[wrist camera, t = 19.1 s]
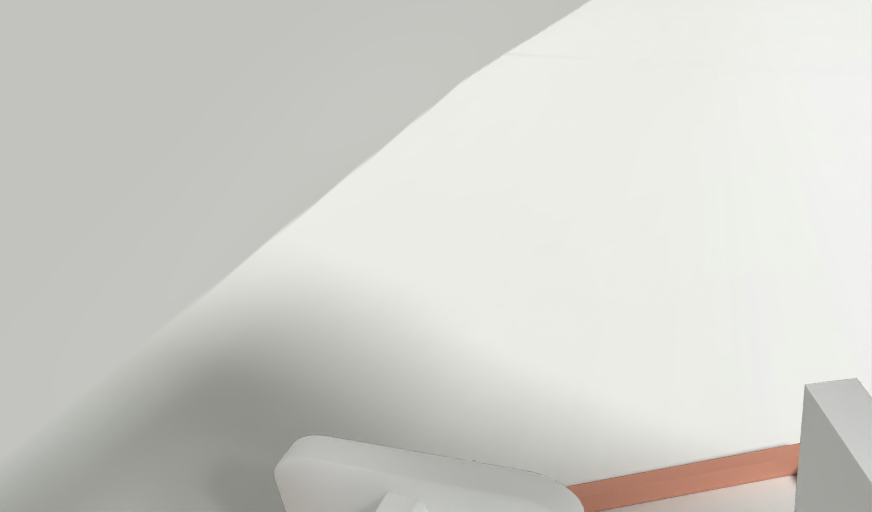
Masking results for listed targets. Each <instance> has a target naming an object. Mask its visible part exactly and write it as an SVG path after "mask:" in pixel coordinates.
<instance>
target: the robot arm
mask: <svg viewBox="0 0 872 512" xmlns="http://www.w3.org/2000/svg"><path fill="white" fill-rule="evenodd" d="M794 512H872V397H871V396H870V395H869V393H868V392H867V391H866V390H865V388H864V387H863V386H862V384H861V383H860V382H859V381H858V379H857V378H852V379H844V380H836V381H828V382H821V383H813V384H805V389H804V401H803V413H802V425H801V438H800V450H799V462H798V474H797V486H796V498H795V511H794Z"/></svg>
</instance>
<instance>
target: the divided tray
mask: <svg viewBox="0 0 872 512" xmlns="http://www.w3.org/2000/svg"><path fill="white" fill-rule="evenodd" d="M799 450H800V443H798V444H793V445H787V446H782V447H777V448H771V449H766V450H760V451H755V452H750V453H744V454H739V455H734V456H728V457H723V458H718V459H712V460H707V461H702V462H696V463H691V464H685V465H680V466H675V467H669V468H664V469H659V470H653V471H648V472H643V473H637V474H632V475H626V476H621V477H616V478H610V479H605V480H600V481H594V482H589V483H584V484H578V485H573V486H567V487H566V488H568V489H569V490H570V491H572V492H573V493H574V494H575V495H576V496H577V498H578V499H579V500H580V502H581V504H582V506H583V508H584V512H596V511H602V510H607V509H612V508H618V507H623V506H628V505H634V504H639V503H644V502H650V501H655V500H660V499H666V498H671V497H676V496H682V495H687V494H692V493H698V492H703V491H708V490H714V489H719V488H724V487H730V486H735V485H740V484H746V483H751V482H756V481H762V480H767V479H772V478H778V477H783V476H788V475H794V474H798V462H799Z"/></svg>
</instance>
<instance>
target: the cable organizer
mask: <svg viewBox="0 0 872 512" xmlns="http://www.w3.org/2000/svg"><path fill="white" fill-rule="evenodd" d="M274 476H275V480H276V483H277V487H278V490H279V493H280V496H281V499H282V502H283V505H284V508H285V512H584V508H583V506H582V504H581V502H580V500H579V499H578V498H577V496H576V495H575V494H574V493H573V492H572V491H570V490H569V489H568V488H566V487H565V486H564V485H562V484H560V483H559V482H557V481H555V480H553V479H551V478H549V477H546V476H543V475H541V474H538V473H534V472H529V471H524V470H518V469H513V468H507V467H501V466H495V465H490V464H484V463H478V462H476V461H474V460H473V462H472V461H467V460H461V459H455V458H449V457H444V456H438V455H432V454H426V453H421V452H415V451H409V450H403V449H398V448H392V447H386V446H380V445H375V444H369V443H363V442H357V441H352V440H346V439H340V438H334V437H329V436H321V435H311V436H305V437H302V438H299V439H298V440H296V441H295V442H294V443H293V444H292V445H291V447H290V448H289V449H288V451H287V452H286V453H285V455H284V456H283V457H282V458H281V460H280V461H279V462H278V464H277V465H276V467H275V470H274Z"/></svg>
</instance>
